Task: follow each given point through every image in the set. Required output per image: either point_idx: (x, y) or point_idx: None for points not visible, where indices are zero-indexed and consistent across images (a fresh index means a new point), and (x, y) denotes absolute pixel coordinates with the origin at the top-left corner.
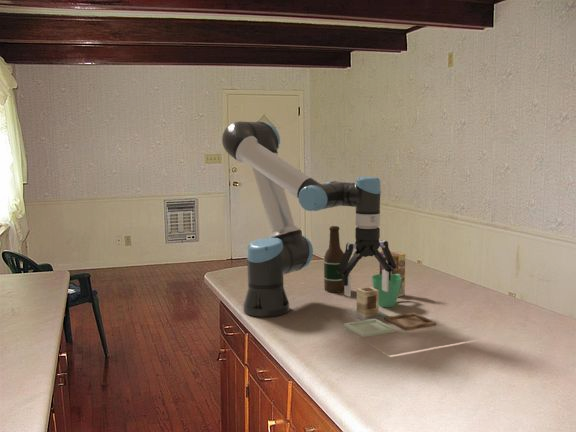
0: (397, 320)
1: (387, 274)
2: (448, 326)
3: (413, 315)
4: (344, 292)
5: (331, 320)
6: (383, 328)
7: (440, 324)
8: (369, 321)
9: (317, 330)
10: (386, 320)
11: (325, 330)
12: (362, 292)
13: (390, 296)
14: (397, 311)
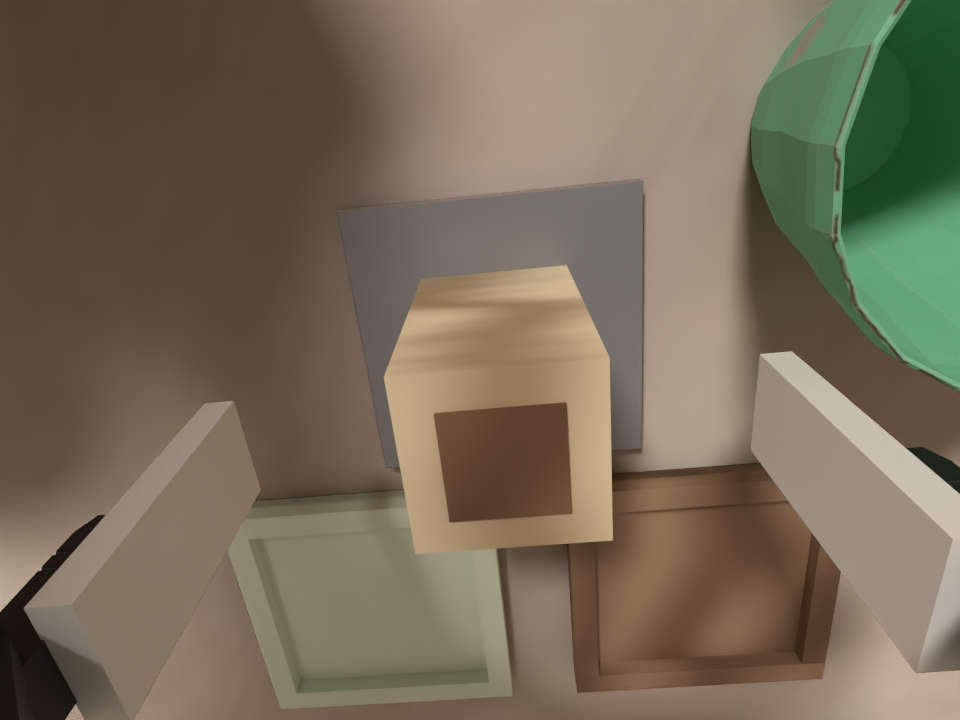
0: (641, 535)
1: (900, 630)
2: (878, 674)
3: None
4: (193, 418)
5: (168, 338)
6: (466, 627)
7: (865, 637)
8: None
9: (33, 499)
10: None
11: (90, 515)
12: (409, 504)
13: (860, 276)
14: (811, 304)
